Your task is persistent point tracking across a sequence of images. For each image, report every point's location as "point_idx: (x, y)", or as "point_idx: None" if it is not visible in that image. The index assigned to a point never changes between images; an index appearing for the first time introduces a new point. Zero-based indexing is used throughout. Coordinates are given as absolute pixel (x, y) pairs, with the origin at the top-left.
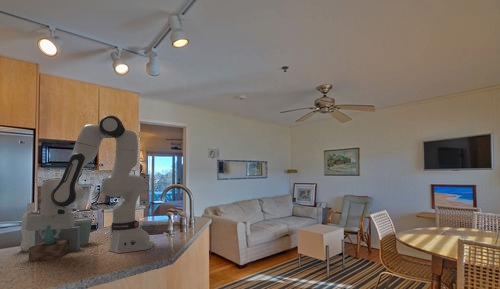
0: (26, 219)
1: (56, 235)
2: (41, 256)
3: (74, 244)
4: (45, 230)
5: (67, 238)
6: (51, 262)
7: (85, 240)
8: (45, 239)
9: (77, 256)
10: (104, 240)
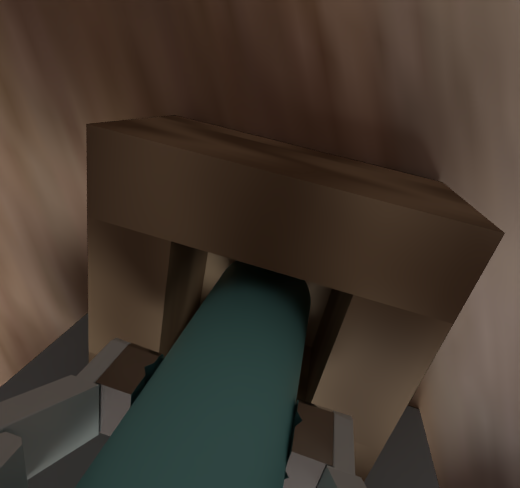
0: None
1: (88, 372)
2: (314, 155)
3: (81, 348)
4: None
5: None
6: (195, 5)
7: None
8: (278, 366)
9: (26, 119)
10: None
